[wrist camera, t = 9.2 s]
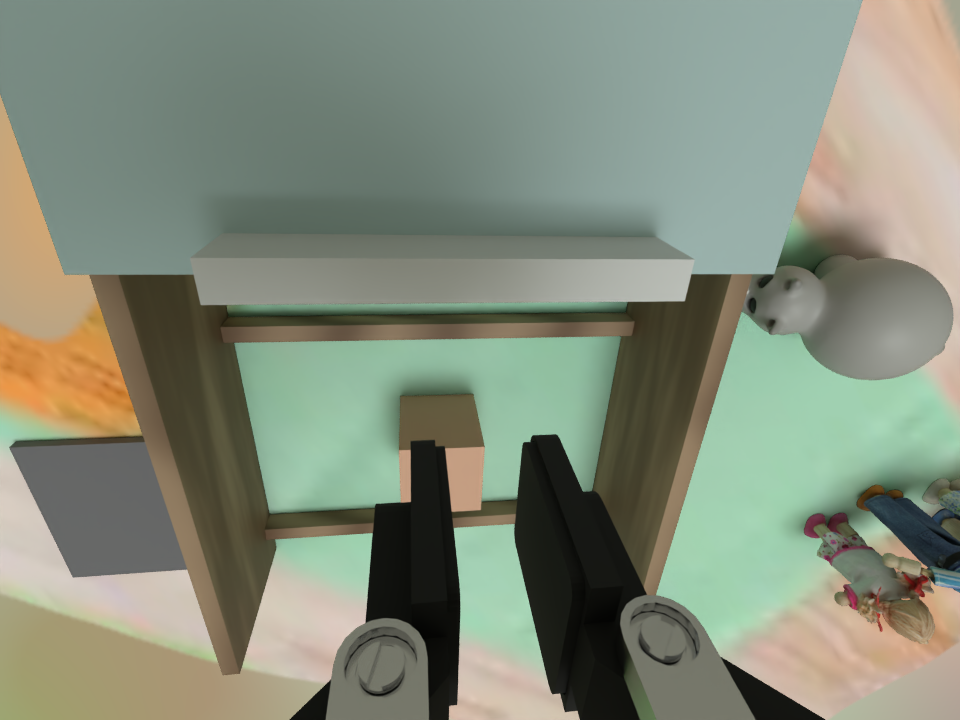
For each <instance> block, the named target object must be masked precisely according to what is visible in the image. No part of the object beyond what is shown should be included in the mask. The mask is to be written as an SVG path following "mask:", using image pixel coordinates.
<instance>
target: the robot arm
mask: <svg viewBox="0 0 960 720" xmlns="http://www.w3.org/2000/svg"><path fill="white" fill-rule="evenodd" d="M410 447H411V502H402V503H385V504H376V505H375V512H374V525H373V537H372V549H371V562H370V574H369V587H368V599H367V611H366V623H365V624H363V625H361V626H359V627H357V628H356V629H355V630H354V631H353V632H352V633H351V634H349V635H348V636H347V637H346V638H345V640H344V641H343V643H342V645H341V646H340V648H339V649H338V651H337V654H336V658H335V661H334V664H333V671H332V678H331V680H330V681H329V682H328V683H327V684H326V685H325V686H324V687H323V688H322V689H321V690H320V691H319V692H318V693H317V694H315V695H314V696H313V697H312V698H311V699H310V700H309V701H308V702H307V703H306V704H305V705H304V706H303V707H302V708H301V709H300V710H299V711H298V712H297V713H296V714H295V715H294V716H293V717H292V718H291V719H290V720H449V706H451V705H457V695H458V665H459V634H460V588H459V577H458V567H457V557H456V548H455V538H454V528H453V519H452V509H451V499H450V490H449V480H448V470H447V461H446V451H445V446H436V445H435V440H417V441H411V442H410ZM514 535H515V544H516V548H517V553H518V557H519V561H520V565H521V570H522V574H523V578H524V582H525V586H526V591H527V595H528V599H529V603H530V608H531V612H532V616H533V620H534V624H535V629H536V633H537V637H538V641H539V646H540V650H541V654H542V658H543V662H544V667H545V671H546V675H547V679H548V684H549V687H550V690H551V693H552V694H559V693H560V694H561V698H562V702H563V706H564V710H565V712H569V711H578V714H579V718H580V720H825V719H824V718H822V717H820V716H818V715H817V714H815V713H813V712H812V711H810V710H808V709H807V708H805V707H803V706H802V705H800V704H798V703H797V702H795V701H793V700H792V699H790V698H788V697H787V696H785V695H783V694H782V693H780V692H778V691H777V690H775V689H773V688H772V687H770V686H768V685H767V684H765V683H763V682H762V681H760V680H758V679H757V678H755V677H753V676H752V675H750V674H748V673H747V672H745V671H743V670H742V669H740V668H738V667H737V666H735V665H733V664H732V663H730V662H728V661H727V660H725V659H723V658H722V657H720V656H719V654H718V652H717V650H716V649H715V647H714V645H713V643H712V641H711V640H710V638H709V636H708V634H707V633H706V631H705V629H704V627H703V626H702V625H701V623H700V622H699V621H698V619H697V618H696V617H695V616H694V615H693V614H692V613H691V612H690V611H689V610H687V609H686V608H685V607H684V606H682V605H680V604H679V603H677V602H675V601H673V600H671V599H668V598H665V597H661V596H655V595H647V593H646V591H645V589H644V587H643V585H642V583H641V581H640V578H639V576H638V574H637V572H636V570H635V568H634V566H633V564H632V562H631V560H630V557H629V555H628V553H627V551H626V549H625V547H624V545H623V543H622V541H621V538H620V536H619V534H618V532H617V530H616V528H615V526H614V524H613V522H612V520H611V517H610V515H609V513H608V511H607V509H606V507H605V505H604V503H603V501H602V499H601V497H600V495H599V494H598V493H597V492H596V491H589V492H583V491H582V489H581V487H580V484H579V482H578V480H577V478H576V475H575V473H574V471H573V468H572V466H571V464H570V462H569V459H568V457H567V455H566V452H565V450H564V448H563V445H562V443H561V441H560V439H559V437H558V435H556V434H555V435H533V436H532V437H531V441H530V442H524V443H523V447H522V456H521V466H520V477H519V487H518V497H517V507H516V518H515V528H514Z"/></svg>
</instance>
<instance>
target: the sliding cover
mask: <svg viewBox="0 0 960 720" xmlns="http://www.w3.org/2000/svg"><path fill="white" fill-rule="evenodd" d="M862 1H863V0H0V95H1V98H2V101H3V103H4V106H5V109H6V112H7V115H8V117H9V120H10V123H11V126H12V129H13V131H14V134H15V137H16V140H17V143H18V145H19V148H20V151H21V154H22V157H23V159H24V162H25V165H26V168H27V171H28V173H29V176H30V179H31V182H32V185H33V188H34V190H35V193H36V196H37V199H38V202H39V204H40V207H41V210H42V213H43V216H44V218H45V221H46V224H47V227H48V230H49V232H50V235H51V238H52V241H53V244H54V246H55V249H56V252H57V255H58V258H59V260H60V263H61V266H62V269H63V272H64V274H65V275H194V278H195V283H196V287H197V291H198V296H199V300H200V304H201V305H284V304H408V303H533V302H657V301H685V298H686V294H687V290H688V286H689V282H690V278H691V274H774V273H775V270H776V267H777V264H778V261H779V258H780V255H781V252H782V249H783V245H784V242H785V239H786V236H787V233H788V230H789V227H790V224H791V221H792V218H793V214H794V211H795V208H796V205H797V202H798V199H799V196H800V193H801V190H802V187H803V183H804V180H805V177H806V174H807V171H808V168H809V165H810V162H811V159H812V156H813V152H814V149H815V146H816V143H817V140H818V137H819V134H820V131H821V128H822V125H823V121H824V118H825V115H826V112H827V109H828V106H829V103H830V100H831V97H832V94H833V90H834V87H835V84H836V81H837V78H838V75H839V72H840V69H841V66H842V63H843V59H844V56H845V53H846V50H847V47H848V44H849V41H850V38H851V35H852V32H853V28H854V25H855V22H856V19H857V16H858V13H859V10H860V7H861V4H862Z"/></svg>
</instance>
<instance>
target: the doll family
mask: <svg viewBox="0 0 960 720" xmlns="http://www.w3.org/2000/svg"><path fill="white" fill-rule="evenodd" d="M923 501H925V502H927V503H929V504H940V505H942V506H943V507H945V508H947V509H944V510H941V511H939V512H938V513H937V514H936V515H935V516H933V517H932V518H931V517H930V516H929V515H928V514H926V513H925V512H924V511H923V510H921V509H920V508H919V507H918V506H917V505H915V504H914V503H913V502H912V501H911V500H910V499H908V498H903V493H902V492H901V491H898V490H891V491H889V492H887V493H886V494H885V492H884V488H883V487H882V486H880V485H874V486H872V487H870V488H869V489H868V490H867V491H866V492H865V493H864V494H863V495H862V496H861V497H860V498H859V499H858V501H857V507H858V508H860V509H862V510H865V511H871V512H872V513H873V514H874V515H875V516H876V517H877V518H878V519H879V520H880V521H881V522H882V523H883V524H884V525H886V526H887V527H888V528H889V529H890V530H891V531H892V532H893V533H894V534H895V535H896V536H897V537H898V539H899V540H900V541H901V542H902V543H903V544H904V545H905V546H906V547H907V548H908V549H909V550H910V551H911V552H912V553H913V554H914V555H915V556H916V557H917V558H918V559H919V560H920V561H921V562H922V563H923V564H924V565H926V566H927V567H928V568H927V569H924V568H922V567H921V563H919V562H917V561H914V560H911V559H907V558H904V557H897V556H895V555H893V554H891V553H886V554H884V555H883V556H881V555H880V554H879V553H877V552H876V551H875V550H874V549H873V548H872V547H869V546H867V545H866V543H865V541H864V540H863V538H862V537H860V536H859V535H858V533H857V532H856V531H855V530H854V529H853V528H852V527H851V526H850V525H849V524H848V518H847V515H846V514H845V513H838V514H835V515H834V516H832V517H831V519H830V521H829V524H828V527H826V520H825V516H824V515H823V514H815V515H812V516H811V517H810V518H808V520H807V522H806V525H805V528H804V534H805V535H807V536H809V537H811V538H821V539H822V540H823V543H822V544H821V546H820V548H819V550H818V551H817V556H819V557H821V558H823V559H825V560H827V561H829V563H830V565H832V566H833V567H834V568H835V569H837V570H838V571H839V572H840V573H841V574H842V575H843V576H844V577H845V578H846V579H847V580H848V581H850V582H851V584H846V585H844V586H843V587H844V589H845V590H844V592H837V593H836V594H835V601H836V602H837V603H838V604H839V605H841V606H847V605H849V606H850V607H851V608H852V609H855V610H858V613H860V615H861V616H863V617H865V618H866V619H867V621H868V622H871V623H872V622H873V623H876V622H877V623H878V626H879V628H880V631H881V632H882V631H883V629H882V626H881V624H880V622H879V618H880V613H881V614H882V615H883V617H884V619H885V621H886V622H887V623H888V624H889V625H890V626H891V627H892V628H893V629H894V630H895V631H896V632H897V633H899V634H900V635H902V636H904V637H906V638H908V639H909V640H911V641H914V642H918V643H920V644H923V643H924V644H928V640H929V639H931V637H932V635H933V633H934V630H935V624H934V620H933V617H932V614H931V613H930V612H929V609H928V607H927V606H926V605H925V604H924V603H923V602H922V601H921V600H920V599H919V596H921V597H925V594H924V592H929V593H934V591H933V589H932V588H931V586H930V585H931V581H932V582H933V583H934V584H935V585H937V586H942V587H948V588H953V589H954V590H956V591H958V592H960V479H955V480H953V481H951V482H950V483H949V481H948V480H947V479H944V478H943V479H938V480H936V481H934V482H933V483H932V484H931V485H930V487H929V488H928V489H927V491H926V492H925V494H924V495H923ZM894 568H897V569H898V570H900V571H902V573H900V572H897V573H896V571H895V569H894ZM928 577H929V578H930V579H929V578H928ZM930 580H931V581H930ZM901 598H903V599H905V598H910V599H911V600H901Z"/></svg>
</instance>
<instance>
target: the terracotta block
mask: <svg viewBox="0 0 960 720" xmlns="http://www.w3.org/2000/svg"><path fill="white" fill-rule="evenodd" d="M417 440H435V445H436V446H445V451H446V461H447V470H448V480H449V490H450V499H451V509H452V512H456V511H474V510H481V498H482V482H483V465H484V449H485V446H484V442H483V437H482V432H481V428H480V423H479V418H478V414H477V409H476V404H475V400H474V395H473V394H460V395H423V396H400V432H399V464H400V491H401V503H402V502H411V447H410V442H411V441H417Z"/></svg>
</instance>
